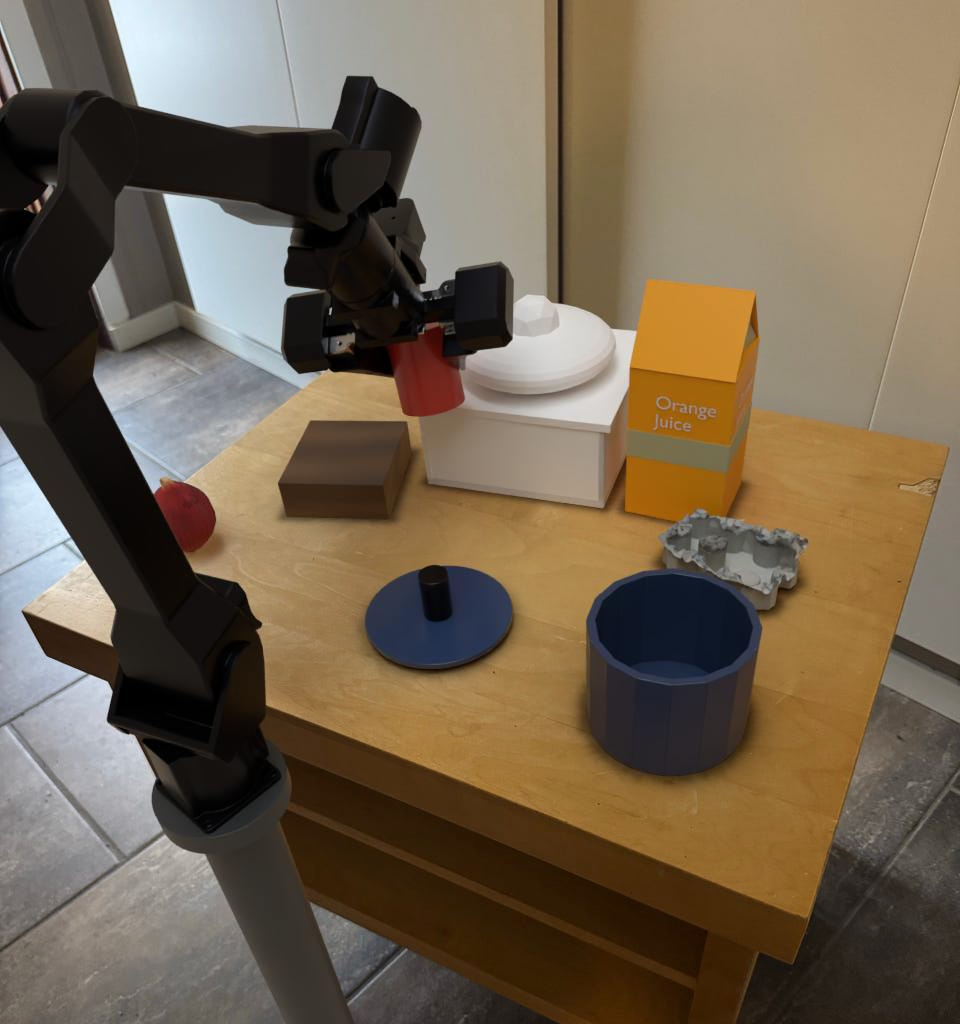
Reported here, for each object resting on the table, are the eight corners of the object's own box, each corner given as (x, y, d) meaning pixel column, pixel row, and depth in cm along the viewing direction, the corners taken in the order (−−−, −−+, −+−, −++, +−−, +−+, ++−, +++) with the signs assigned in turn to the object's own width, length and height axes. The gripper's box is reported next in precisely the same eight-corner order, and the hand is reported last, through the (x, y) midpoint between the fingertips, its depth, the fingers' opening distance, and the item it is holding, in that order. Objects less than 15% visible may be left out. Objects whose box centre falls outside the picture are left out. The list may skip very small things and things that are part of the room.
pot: (687, 803, 64) (697, 711, 58) (556, 723, 70) (552, 633, 64) (775, 705, 69) (793, 612, 63) (647, 639, 75) (652, 548, 69)
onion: (216, 524, 91) (192, 451, 86) (232, 556, 87) (208, 482, 82) (155, 544, 90) (127, 471, 84) (169, 578, 86) (140, 504, 80)
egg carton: (808, 578, 79) (817, 539, 76) (756, 625, 76) (762, 586, 73) (701, 528, 85) (705, 489, 82) (647, 569, 81) (650, 530, 79)
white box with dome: (487, 394, 105) (475, 247, 94) (650, 412, 100) (658, 259, 89) (427, 484, 93) (405, 329, 82) (608, 510, 88) (611, 348, 77)
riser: (388, 519, 90) (382, 485, 87) (286, 516, 91) (277, 482, 89) (412, 454, 98) (407, 421, 95) (317, 452, 99) (310, 420, 97)
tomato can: (430, 420, 81) (411, 336, 77) (389, 413, 85) (370, 333, 81) (478, 397, 84) (462, 315, 80) (437, 391, 87) (420, 313, 84)
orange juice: (650, 466, 93) (661, 259, 79) (742, 483, 89) (770, 270, 76) (623, 512, 88) (629, 299, 74) (719, 531, 84) (745, 313, 71)
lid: (441, 697, 73) (433, 649, 69) (336, 631, 79) (325, 583, 75) (543, 613, 79) (541, 564, 75) (438, 557, 85) (432, 510, 81)
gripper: (485, 144, 68) (537, 269, 83) (251, 190, 74) (338, 300, 88) (481, 286, 66) (535, 389, 80) (239, 323, 71) (331, 413, 86)
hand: (431, 368), depth 84 cm, fingers closed on tomato can, 5 cm apart
